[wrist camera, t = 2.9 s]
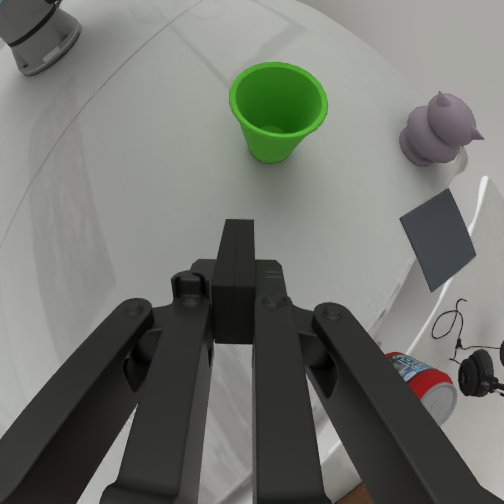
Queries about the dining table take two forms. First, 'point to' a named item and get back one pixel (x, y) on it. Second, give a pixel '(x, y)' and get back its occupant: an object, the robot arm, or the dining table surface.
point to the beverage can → (427, 385)
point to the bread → (357, 496)
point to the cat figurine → (438, 130)
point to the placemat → (439, 238)
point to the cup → (277, 108)
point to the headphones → (477, 370)
